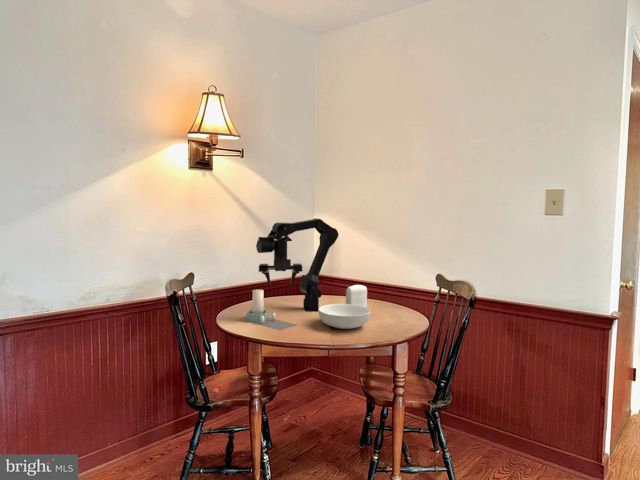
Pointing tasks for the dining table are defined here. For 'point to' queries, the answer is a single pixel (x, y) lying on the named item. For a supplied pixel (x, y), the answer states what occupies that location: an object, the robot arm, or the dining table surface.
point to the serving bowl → (344, 315)
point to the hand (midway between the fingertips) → (280, 287)
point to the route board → (272, 323)
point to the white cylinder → (257, 301)
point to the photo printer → (356, 295)
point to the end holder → (256, 316)
